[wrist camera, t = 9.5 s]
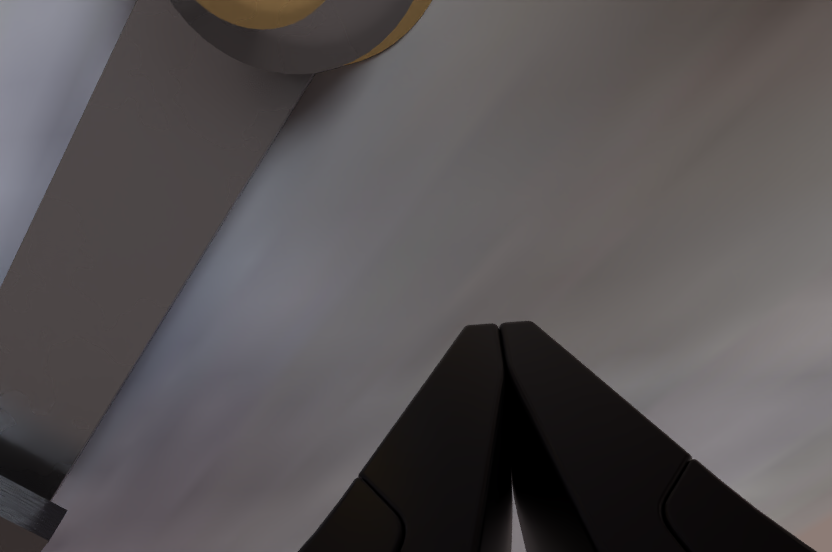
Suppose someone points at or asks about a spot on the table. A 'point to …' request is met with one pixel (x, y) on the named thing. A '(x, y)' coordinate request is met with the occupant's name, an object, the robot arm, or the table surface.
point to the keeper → (25, 518)
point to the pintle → (298, 16)
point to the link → (146, 206)
